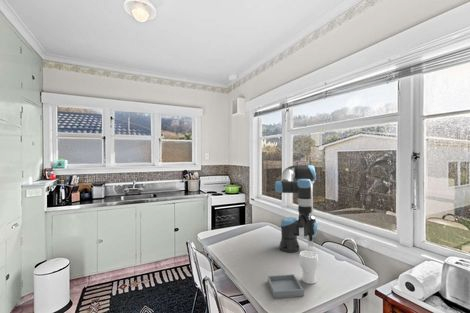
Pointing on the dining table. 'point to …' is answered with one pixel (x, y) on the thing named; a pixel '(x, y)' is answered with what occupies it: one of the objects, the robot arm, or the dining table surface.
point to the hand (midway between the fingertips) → (305, 242)
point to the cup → (308, 266)
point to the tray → (285, 286)
